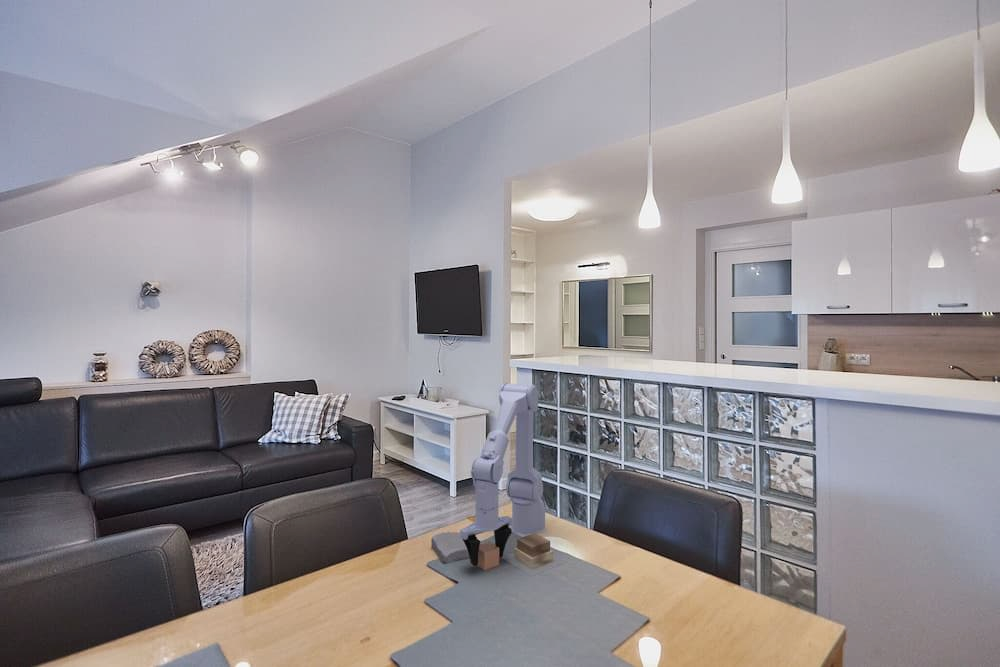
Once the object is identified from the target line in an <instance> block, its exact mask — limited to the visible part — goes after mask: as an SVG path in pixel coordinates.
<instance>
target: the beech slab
mask: <svg viewBox="0 0 1000 667" xmlns="http://www.w3.org/2000/svg"><path fill="white" fill-rule="evenodd" d="M513 550H514V552H513V553H514V558H515V559H517V560H518V561H520V562H522V563H523V564H525V565H526V566H528V567H530V568H531V569H533V568H535V567H538V566H541V565H543V564H546V563H549V562H551V561H553V554H554V550H552V549H550V551H549V552H546V553H543V554H540V555H537V556H535V557H530V556H529V555H527V554H525V553H524V552H522V551H520V550H519V549H517V547H515V548H514V549H513Z"/></svg>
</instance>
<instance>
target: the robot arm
mask: <svg viewBox="0 0 1000 667" xmlns="http://www.w3.org/2000/svg"><path fill="white" fill-rule="evenodd" d="M498 400H499V404H500V408H499V412H498V416H497V419H496V422H495V427H494V430H493V431H490V432H488V435H487V437H486V440H485V442H484V444H483V448H482V450H481V452H480V455H479V457H477V458H476V459H474V461H473V462H472V465H471V470H470V476H471V479H472V482H473V488H475V522H472V523H471V524H469V525H467V526H465V527H463V528H461V529H459V533H460V537H461V538H462V539H463V541H464V543H465V545H466V547H467V550H468V553H469V557H470V558H469V560H470V564H472V565H473V566H474V567H476V566H477V567H478V551H479V546H480V544H481V540H480V539H478V536H477V535H481V534H483V533H489V532H493V535H494V545H495V546H497V547H499V559H500V558H501V557H503V556H504V553H505V552H504V551H505V549H506V545H507V542H508V540H509V538H510V537H511V534H512V533H514V534H515V535H517V536H519V537H520V538H521V537H524V536H527V535H530V534H534V533H536V534H538V533H540V532H542V531H546V530H547V529H548V528H547V527H546V506H545V503H544V501H543V500H542V497H543V493H544V486H543V485H544V484H543V479H542V478H543V476H542V473H540V472H539V471H538V470H537V469H536V468H535V467H533V462H534V461H533V458H534V455H533V453H534V452H533V450H534V449H533V448H534V447H533V444H534V442H533V441H534V413H535V412H538V410H539V409H538V408H539V390H538V388H537V387H536V385H535V384H523V383H522V384H520V383H508V382H503V383H502V385H501V386H500V387H499V392H498ZM515 418H516V419H515ZM514 420H516V422H515V423H516V425H515V467H514V468H513V469H511V470H510V471H509V472H508V473H507V479H506V484H505V492H506V495H507V497H508V498H509V501H510V502H511V503H512V504H511V505H512V507H511V512H512V513H511V514H512V515H511V516H509V515H506V516H499V482H500V481H501V478H502V476H503V474H504V473H503V472H504V465H505V461H504V457H505V454H506V452H507V449H508V445H509V443H510V439H509V437H508V434H509V431H510V430H511V427H512V425H513V423H514ZM501 559H502V558H501Z"/></svg>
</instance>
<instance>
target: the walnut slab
mask: <svg viewBox="0 0 1000 667" xmlns="http://www.w3.org/2000/svg"><path fill="white" fill-rule="evenodd" d="M523 536H524V537H521V536H520V537H519V538H517V539H516V548H517V549H519V550H520V551H522V552H524V553H525V554H527V555H529V556H530V557H535V556H537V555H540V554H543V553H546V552H549V551H550V550H551V541H550V540H549V539H547V538H545V537H543V536H541V535H539V534H538V533H534V534H530V535H527V536H525V535H523Z"/></svg>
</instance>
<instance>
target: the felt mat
mask: <svg viewBox="0 0 1000 667" xmlns="http://www.w3.org/2000/svg"><path fill="white" fill-rule="evenodd" d="M501 559H503V560H504V561H506V562H508V563H509V564H511V565H512V566H514V567H515V568H517V569H519V570H520V571H522V572H523V573H524V574H526V575H528V576H529V577H532V576H535V575H537V574H540V573H542V572H546V571H548V570H551V569H553V568H555V567H556V568H557V567H558V566H560V565H563V564H565V563H567V561H566V560H564V559H562V558H561V557H559V556H557V555H555V554H554V553H553V561H551V562H549V563H546V564H543V565H541V566H538V567H535V568H533V569H531V568H530V567H528V566H526V565H525V564H523V563H522V562H520V561H518V560H517V559H515V558H514V552H511V553H508V554H505V555H503V557H501Z"/></svg>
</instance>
